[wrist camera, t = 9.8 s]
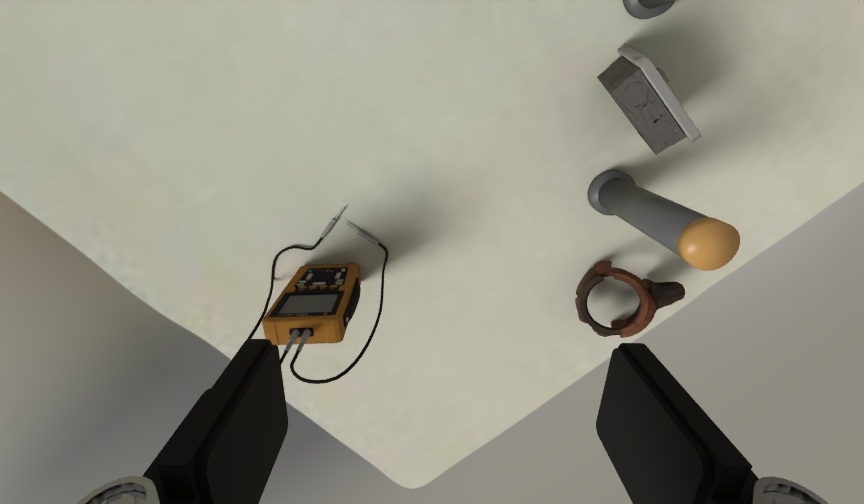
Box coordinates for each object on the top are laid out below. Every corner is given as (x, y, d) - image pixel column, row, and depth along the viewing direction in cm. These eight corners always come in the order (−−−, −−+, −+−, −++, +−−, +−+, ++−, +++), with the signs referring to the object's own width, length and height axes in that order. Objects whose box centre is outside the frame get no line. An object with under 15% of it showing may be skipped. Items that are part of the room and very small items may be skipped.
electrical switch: (670, 112, 43) (722, 124, 35) (628, 145, 45) (668, 165, 37) (622, 42, 41) (665, 37, 32) (579, 80, 43) (609, 85, 34)
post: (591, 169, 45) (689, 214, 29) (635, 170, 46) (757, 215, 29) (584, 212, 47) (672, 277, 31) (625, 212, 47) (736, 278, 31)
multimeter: (385, 204, 47) (359, 278, 28) (390, 282, 50) (371, 393, 32) (258, 208, 46) (148, 286, 28) (273, 286, 50) (185, 400, 32)
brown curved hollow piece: (591, 336, 54) (589, 353, 47) (566, 270, 55) (560, 277, 48) (690, 311, 50) (704, 326, 42) (660, 240, 51) (669, 241, 43)
